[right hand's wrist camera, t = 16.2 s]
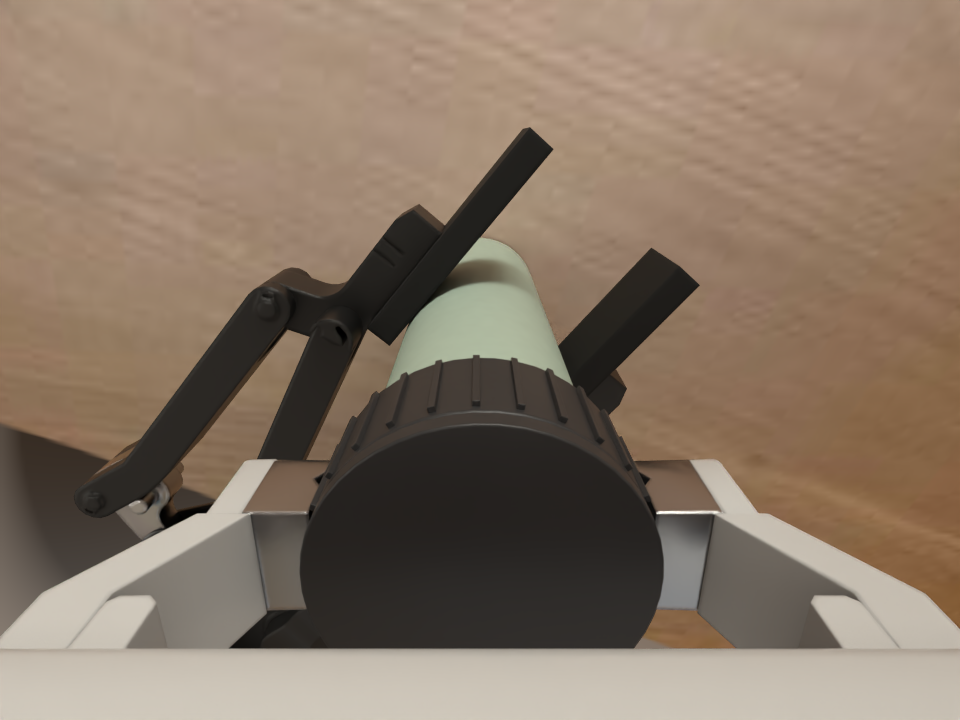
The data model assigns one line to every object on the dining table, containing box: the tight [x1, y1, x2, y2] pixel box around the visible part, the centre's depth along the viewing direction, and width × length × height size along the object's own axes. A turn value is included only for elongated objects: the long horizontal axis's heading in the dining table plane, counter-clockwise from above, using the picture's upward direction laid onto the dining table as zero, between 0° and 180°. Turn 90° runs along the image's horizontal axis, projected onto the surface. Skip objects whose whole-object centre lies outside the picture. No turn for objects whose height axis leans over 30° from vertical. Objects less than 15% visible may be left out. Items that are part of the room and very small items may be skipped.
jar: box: [386, 238, 573, 388], centre depth 16 cm, size 4×4×15 cm
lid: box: [299, 355, 664, 649], centre depth 9 cm, size 5×5×2 cm
